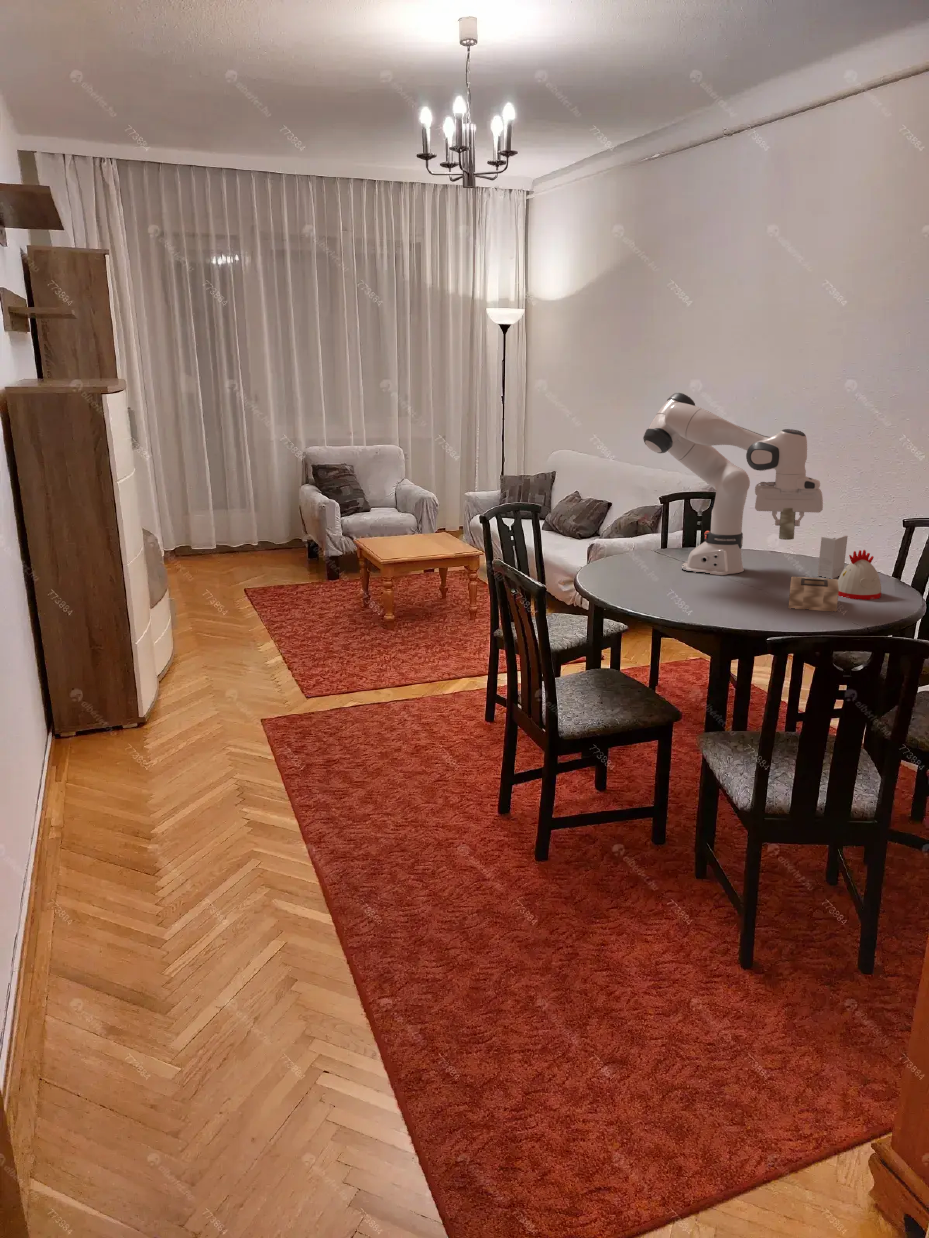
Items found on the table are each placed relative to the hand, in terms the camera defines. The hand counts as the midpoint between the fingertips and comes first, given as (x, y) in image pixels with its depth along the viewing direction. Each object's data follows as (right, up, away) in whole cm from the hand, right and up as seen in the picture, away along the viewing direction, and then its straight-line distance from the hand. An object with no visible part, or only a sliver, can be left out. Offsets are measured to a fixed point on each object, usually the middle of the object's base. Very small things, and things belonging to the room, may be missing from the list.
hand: (787, 525), depth 277 cm
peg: (0, -4, +1) cm, 4 cm away
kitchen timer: (+27, -22, +11) cm, 37 cm away
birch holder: (+8, -25, 0) cm, 26 cm away
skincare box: (+28, -15, +35) cm, 47 cm away
